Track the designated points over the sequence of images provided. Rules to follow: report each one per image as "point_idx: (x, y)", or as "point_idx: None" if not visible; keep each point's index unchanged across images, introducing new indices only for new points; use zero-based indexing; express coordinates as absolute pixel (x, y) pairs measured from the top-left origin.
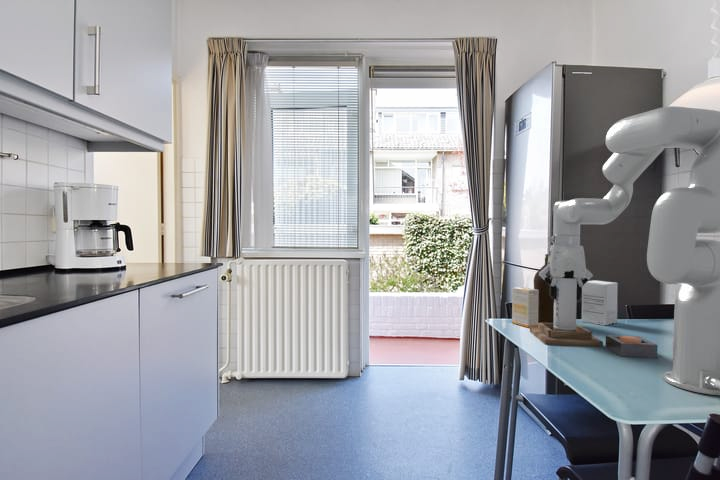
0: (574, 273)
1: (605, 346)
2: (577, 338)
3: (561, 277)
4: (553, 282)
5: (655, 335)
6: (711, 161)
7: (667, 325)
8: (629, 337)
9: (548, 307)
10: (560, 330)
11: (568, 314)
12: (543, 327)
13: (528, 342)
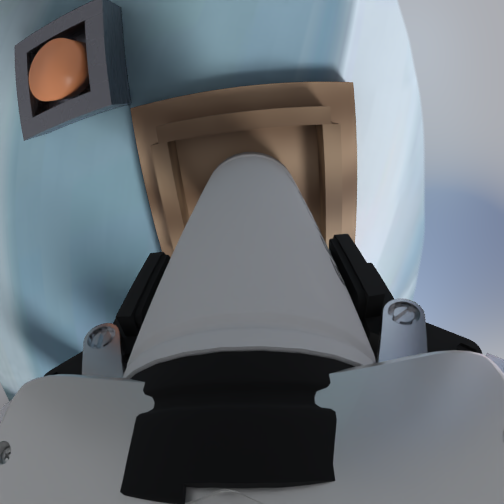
0: (120, 440)
1: (129, 103)
2: (217, 114)
3: (363, 367)
4: (406, 330)
5: (23, 300)
6: None
7: (29, 372)
8: (51, 77)
9: None
10: (277, 161)
11: (245, 170)
12: (341, 190)
13: (396, 104)
